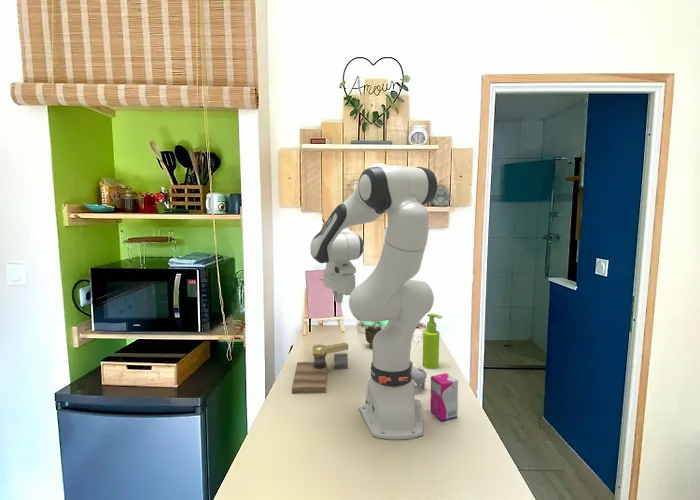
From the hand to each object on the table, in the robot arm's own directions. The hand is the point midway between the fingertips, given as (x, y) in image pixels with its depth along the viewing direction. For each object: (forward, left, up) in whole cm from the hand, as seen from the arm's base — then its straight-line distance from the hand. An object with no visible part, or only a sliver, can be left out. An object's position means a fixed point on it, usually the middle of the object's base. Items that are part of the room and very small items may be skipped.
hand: (338, 302), depth 151 cm
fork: (+17, -33, -24) cm, 45 cm away
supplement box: (-39, -30, -24) cm, 55 cm away
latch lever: (-6, +3, -17) cm, 19 cm away
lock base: (-13, +6, -24) cm, 28 cm away
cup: (+15, -15, -24) cm, 32 cm away
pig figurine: (-21, -23, -24) cm, 39 cm away
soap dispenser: (-5, -35, -24) cm, 43 cm away
